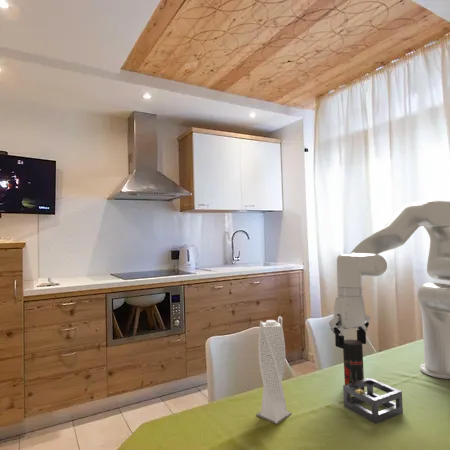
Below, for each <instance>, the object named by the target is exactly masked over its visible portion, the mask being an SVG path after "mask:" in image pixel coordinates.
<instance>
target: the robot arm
mask: <svg viewBox="0 0 450 450" xmlns="http://www.w3.org/2000/svg"><path fill="white" fill-rule="evenodd" d="M420 227H424V229H425V230H426V232H427V233H428V236H429V239H430V240H429V242H430V243H429V250H428V256H427V262H426V263H427V264H426V272H427V274H428V276H429V277H431V278H433V279H436V280H439V281H440V280H441V281H448V282H450V201H449V200H448V201H445V200H443V201H442V200H423V201H415V202H410V203H407V204H405V205H403V206H401V208H400V209H399V210H398V211H397V212H396V213H395V215H393V216H392V218H391V219H390V220H389V221H388V222H387V223H386V224H385V226H383V227H382V228H381V229H379V230H378V231H376V232H374V233H372V234H371V235H369V236H368V237H366V238H364V239H363V240H362V241H360V242H359V243H358V244H357V245H356V246H355V247H354V248H353V249H352V250H351V252H349V254H348V253H346V254H339V255H337V257H336V277H337V279H336V281H337V282H336V283H337V285H336V286H337V296H335V301H334V305H333V318H332V319H331V320H330V321H329V322H328V325H329V327H330V329H331V331H332V332H333V334H334V335H335V336H334V337H335V340H334V341H335V344H334V345H335V346H336V347H337V348H339V349H342V350H343V348H344V340H345V336H344V335H343V334H344V332H345V331H346V330H350V329H356V328H357V329H356V340H358V341H361V342H362V345H366V344H367V333H366V332H367V331H368V327H369V325H370V320H371V316H369V315H368V314H366V310H365V307H366V306H365V302H364V296H363V287H362V286H363V282H362V280H363V279H362V277H363V276H365V277H367V276H368V277H379V276H382V275H384V274H385V273H386V271H387V269H388V264H387V260H386V259H385V258H384V257H383V256H382V255H381V253H384V252H387V251H391V250H394V249H396V248H400V247H402V246H403V245H405V244H406V242H407V241H408V240H409V239H410V238H411V237H412V235H413V234H414V233H415V232H416V231H417V230H418V228H420ZM417 300H418V304H419V307H420V308H419V309H420V312H421V321H422V340H423V355H424V357H423V358H424V363H421V364H420V366H419V369H420V371H421V372H422V373H424V374H425V375H427V376H429V377H433V378H437V379H444V380H450V284H448V283H440V282H426V283H424V284H421V285H420V287H419V288H418V291H417Z"/></svg>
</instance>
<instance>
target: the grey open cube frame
mask: <svg viewBox="0 0 450 450" xmlns="http://www.w3.org/2000/svg"><path fill="white" fill-rule="evenodd" d="M363 387H364V388H366V392H365V389H364V390H362V389H360V388H363ZM374 388H376V389H377V390H380V391H381V392H384V394H381V395H380V394H378V393H376V392H374ZM342 389H343V390H342V391H343V392H342V393H343V407H344V408H347V410H350V411H352V412H353V413H355V414H357V415H358V416H360V417H362V418H364V419H366V420H368V421H369V422H372V423H373V424H375V425H377V424H381V423H382V422H384V421H386V420H387V421H388V420H390V419H392V418H395V417H398V416H400V415H402V414H403V413H404V411H403V410H404V409H403V391H402V390H400V389H397V388H395V387H393V386H390V385H387V384H385V383H384V382H381V381H378V380H376V379H373V378H372V377H367V378H364V379H363V380H360V381H356V382H353V383H350V384H347V385H345V384H344V385H343V386H342ZM363 403H366V404H368V405H370V407H371V408H370V409H371V410H369V409H367V408H366V407H364V406H362V405H361V404H363ZM379 406H382V407H384V408H385V409H382V410H379Z"/></svg>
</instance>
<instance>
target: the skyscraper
mask: <svg viewBox="0 0 450 450" xmlns="http://www.w3.org/2000/svg"><path fill="white" fill-rule="evenodd" d="M285 341H286V340H285V335H284V330H283V317H282V316H281V315H279V316H278V318H277V320H275V319H268V320H266V321H262V320H260V321H259V332H258V346H257V347H258V364H259V370H260V375H261V382H262V384H263V389H262V400H261V409H260V411H259V412H257V413H256V416H257V417H259V418H261V419H264V420H266V421H267V422H270V423H272V424H275V425H279V424H280V423H281V422H283V421H284V420H285V419H287V418H288V417H290V416H291V415H292V412H291V411H288V409H287V404H286V398H285V392H284V387H283V383H282V381H283V377H284V372H285V365H286V342H285Z"/></svg>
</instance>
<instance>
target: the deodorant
mask: <svg viewBox="0 0 450 450" xmlns="http://www.w3.org/2000/svg"><path fill="white" fill-rule="evenodd" d="M363 353H364V351H363V344H362V342H361V341H358V340H357V339H344V348H343V349H342V354H343V374H344V385H347V384H350V383H353V382H356V381H360V380H363V379H365V375H364V374H365V372H364V354H363ZM360 389H362V390H364V391H365V387H363V388H360Z"/></svg>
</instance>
